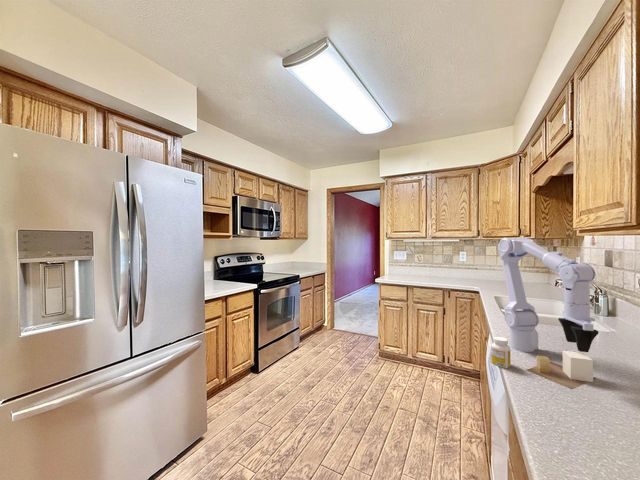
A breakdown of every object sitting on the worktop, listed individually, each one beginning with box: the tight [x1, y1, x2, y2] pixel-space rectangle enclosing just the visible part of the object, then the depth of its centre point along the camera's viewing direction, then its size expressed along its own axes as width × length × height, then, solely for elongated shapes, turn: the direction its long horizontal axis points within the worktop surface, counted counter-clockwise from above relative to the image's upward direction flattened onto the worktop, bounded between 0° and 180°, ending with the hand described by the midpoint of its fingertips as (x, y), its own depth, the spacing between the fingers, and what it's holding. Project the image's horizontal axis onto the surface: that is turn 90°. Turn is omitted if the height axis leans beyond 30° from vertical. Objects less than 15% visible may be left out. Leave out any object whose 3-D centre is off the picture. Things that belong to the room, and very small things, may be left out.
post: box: [536, 355, 551, 374], centre depth 86 cm, size 3×3×4 cm
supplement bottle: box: [490, 336, 511, 369], centre depth 91 cm, size 5×5×10 cm
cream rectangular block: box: [562, 350, 594, 383], centre depth 83 cm, size 5×5×7 cm
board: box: [526, 360, 597, 390], centre depth 84 cm, size 14×12×1 cm
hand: (577, 346), depth 82 cm, fingers open, 7 cm apart
